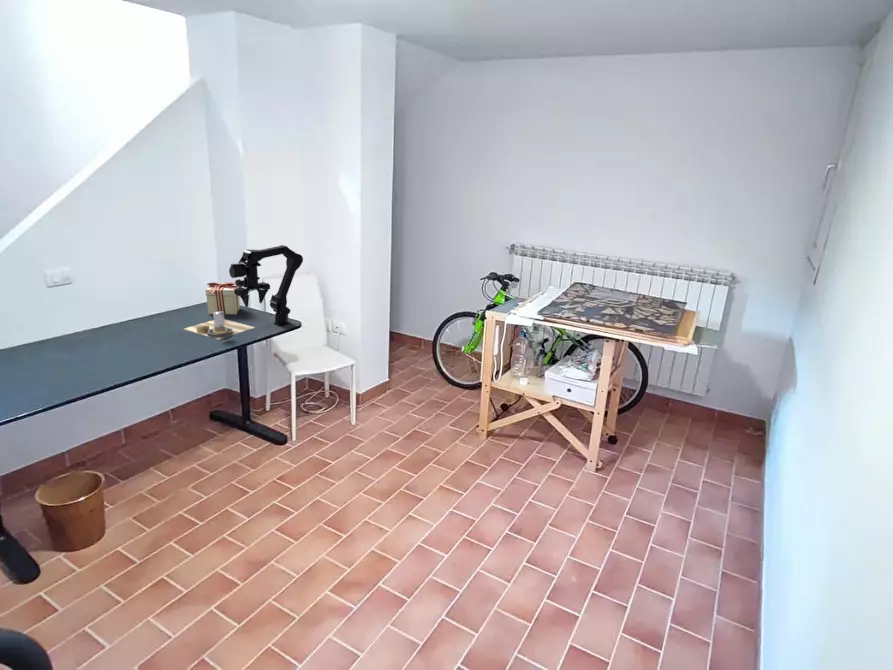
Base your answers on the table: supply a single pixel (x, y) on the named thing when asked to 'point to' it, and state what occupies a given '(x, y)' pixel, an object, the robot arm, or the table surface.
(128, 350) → the table surface
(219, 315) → the silver round piece
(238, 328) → the board
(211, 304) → the gift box
